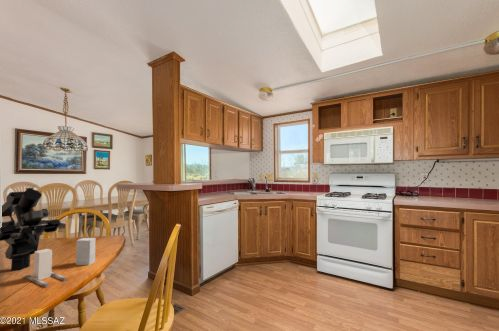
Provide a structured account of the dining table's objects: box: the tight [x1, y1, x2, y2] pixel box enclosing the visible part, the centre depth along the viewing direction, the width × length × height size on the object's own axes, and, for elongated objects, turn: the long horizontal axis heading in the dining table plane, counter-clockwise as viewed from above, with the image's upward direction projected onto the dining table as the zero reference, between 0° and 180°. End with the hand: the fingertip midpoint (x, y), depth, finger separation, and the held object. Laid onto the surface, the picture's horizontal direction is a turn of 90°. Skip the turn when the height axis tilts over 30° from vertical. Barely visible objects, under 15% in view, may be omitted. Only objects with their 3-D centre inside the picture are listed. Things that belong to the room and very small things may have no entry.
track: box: [24, 270, 68, 289], centre depth 89 cm, size 17×7×2 cm, turn 62°
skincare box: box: [75, 237, 97, 266], centre depth 104 cm, size 6×4×12 cm
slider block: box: [32, 248, 53, 281], centre depth 90 cm, size 4×4×10 cm
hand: (36, 246), depth 93 cm, fingers closed
